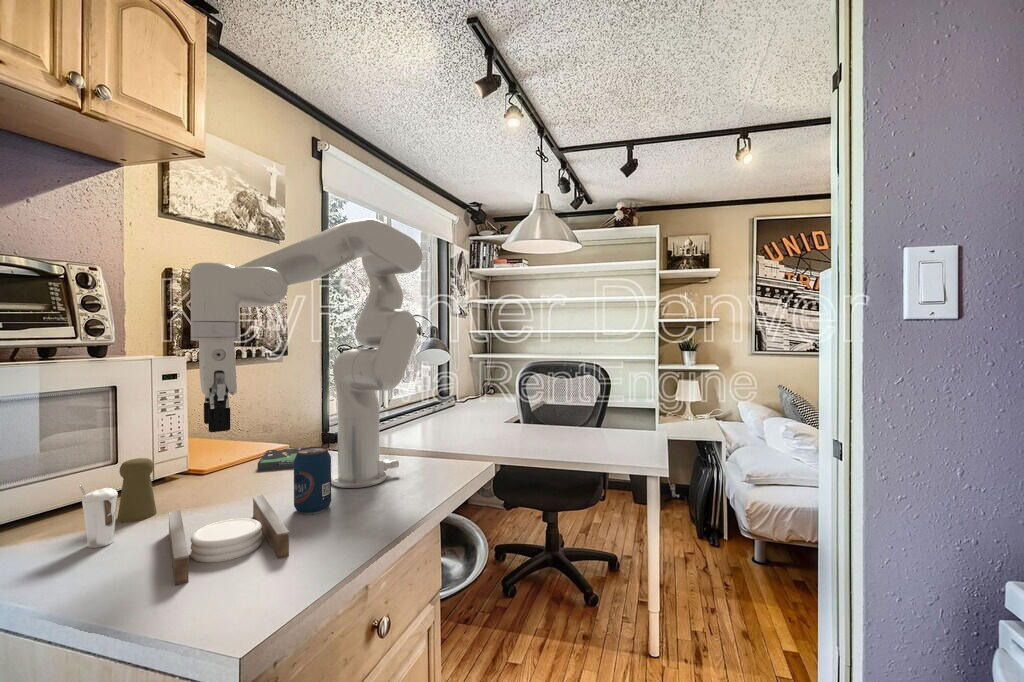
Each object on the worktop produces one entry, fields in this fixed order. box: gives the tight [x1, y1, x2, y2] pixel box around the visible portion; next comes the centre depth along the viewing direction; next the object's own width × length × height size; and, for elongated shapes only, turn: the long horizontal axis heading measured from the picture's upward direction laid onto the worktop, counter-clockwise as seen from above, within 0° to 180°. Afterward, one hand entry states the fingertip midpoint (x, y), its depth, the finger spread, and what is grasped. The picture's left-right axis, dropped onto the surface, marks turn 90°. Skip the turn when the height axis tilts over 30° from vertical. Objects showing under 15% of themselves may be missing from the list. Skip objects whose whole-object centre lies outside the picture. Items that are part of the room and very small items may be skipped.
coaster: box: [190, 517, 263, 563], centre depth 78 cm, size 10×10×4 cm
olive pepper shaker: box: [116, 457, 158, 523], centre depth 92 cm, size 6×6×11 cm
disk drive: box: [257, 447, 303, 472], centre depth 132 cm, size 10×3×15 cm
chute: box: [168, 494, 290, 586], centre depth 80 cm, size 15×22×4 cm
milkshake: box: [79, 484, 119, 549], centre depth 80 cm, size 4×5×10 cm
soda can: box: [293, 446, 332, 515], centre depth 96 cm, size 7×7×12 cm
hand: (216, 426), depth 86 cm, fingers open, 9 cm apart
